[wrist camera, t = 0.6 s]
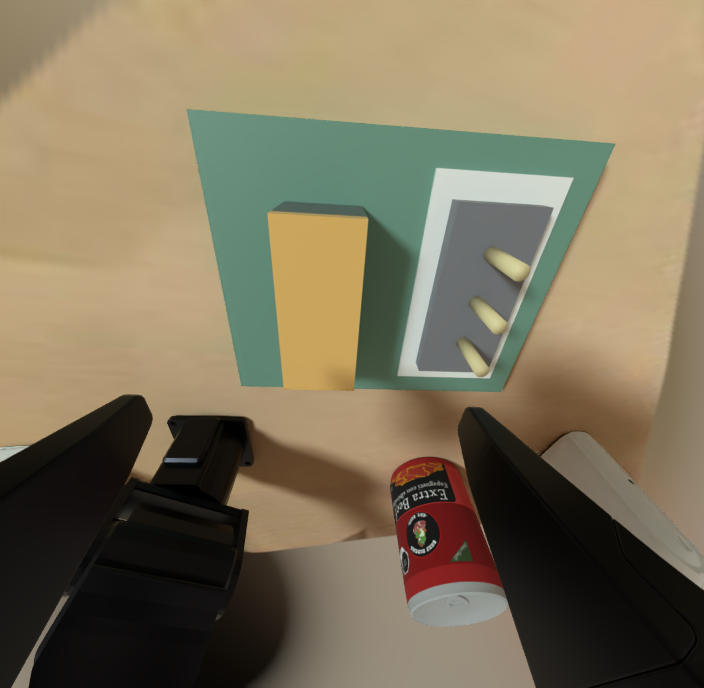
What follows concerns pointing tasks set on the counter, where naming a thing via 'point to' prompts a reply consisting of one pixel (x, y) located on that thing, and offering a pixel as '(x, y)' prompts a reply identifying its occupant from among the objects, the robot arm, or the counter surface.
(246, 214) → the board
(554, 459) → the photo printer
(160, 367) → the counter surface
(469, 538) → the canned food
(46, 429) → the counter surface
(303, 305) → the yellow and grey block
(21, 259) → the counter surface
